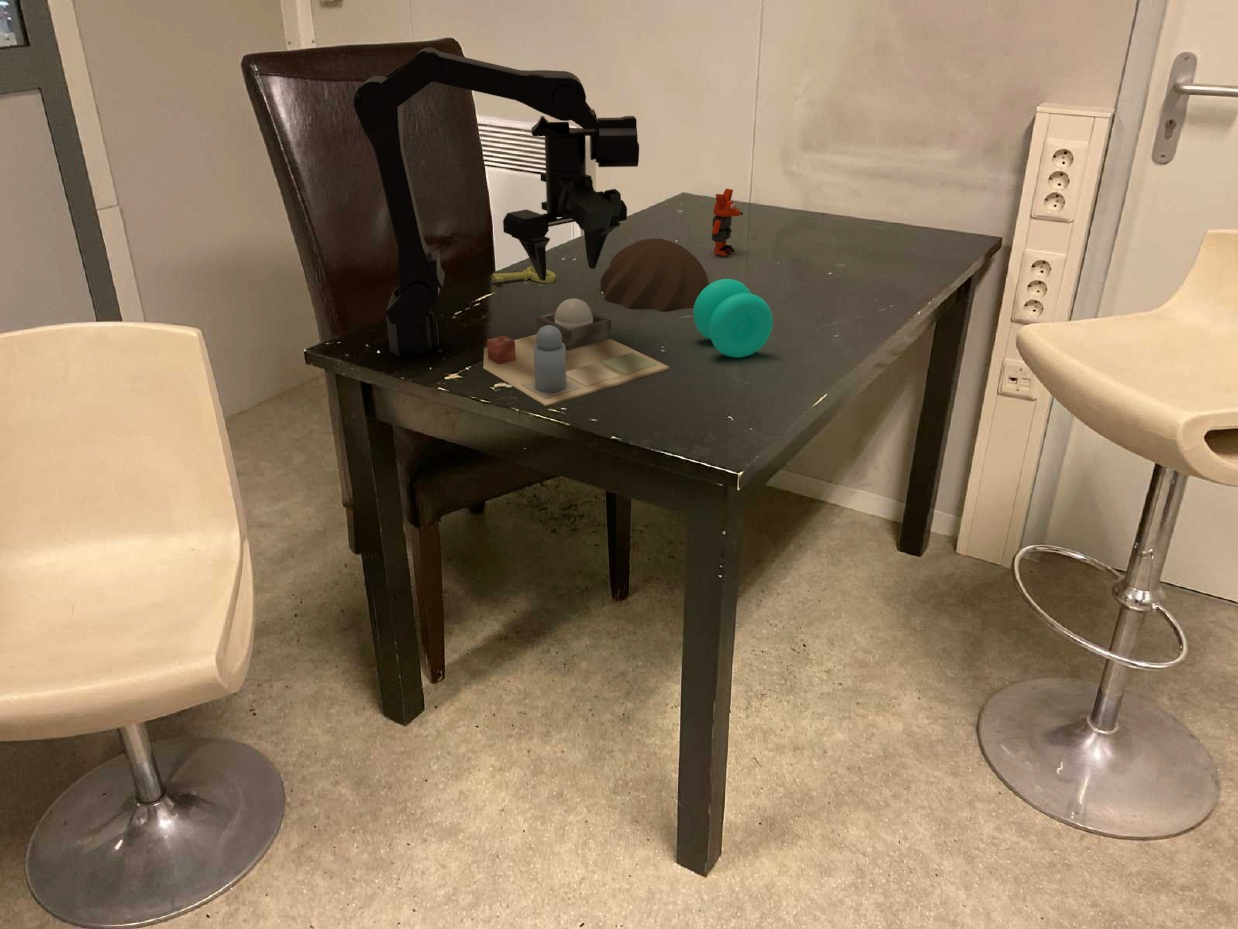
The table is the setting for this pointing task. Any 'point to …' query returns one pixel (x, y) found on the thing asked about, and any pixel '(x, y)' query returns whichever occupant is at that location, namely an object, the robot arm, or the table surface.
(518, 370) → the game board
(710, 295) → the teal yo-yo
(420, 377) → the table surface
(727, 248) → the toy animal
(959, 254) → the table surface
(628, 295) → the decorative dome
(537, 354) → the pawn
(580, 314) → the dome button
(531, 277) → the key
